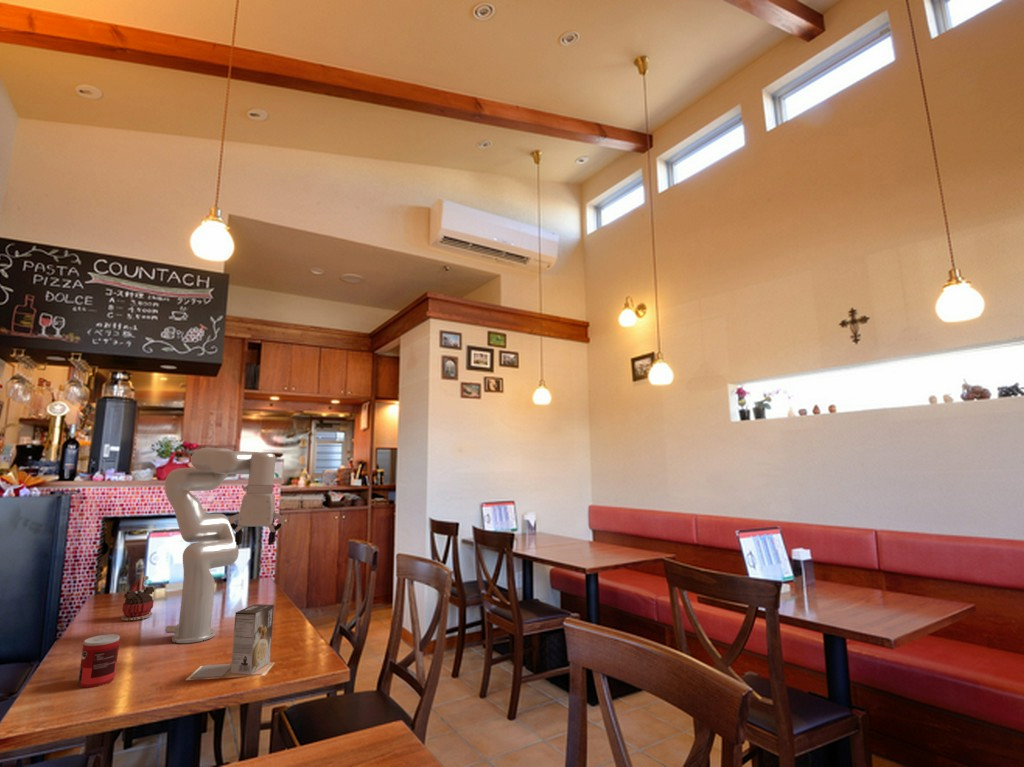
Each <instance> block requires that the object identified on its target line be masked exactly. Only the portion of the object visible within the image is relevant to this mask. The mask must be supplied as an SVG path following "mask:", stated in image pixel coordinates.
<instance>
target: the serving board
mask: <svg viewBox="0 0 1024 767" xmlns="http://www.w3.org/2000/svg"><path fill="white" fill-rule="evenodd" d="M270 662H271V661H270ZM275 663H276V662H274V661H272V662H271V664H270V665H269V666H268V667H267V669H266V670H265V671H264V673H263V674H262V675H253V676H252V677H264V676H266V675H267V674H268V673H269V671H270V670H271V668H272V667H273V666H274V664H275ZM203 666H204V665H200V666H199V667H198V668H196V670H194V671H193V672H192V673H191V674H190V675H189V676H188V677H187V678H185V681H193V680H209V679H213V680H214V679H230V678H247V677H248V678H249V677H250V678H251V676H234V677H230V675H231V674H232V673H231V669H230V670H229V671H228V672H227V673H226V674H225V675H224V676H223V677H216V678H198V679H190V678H191V677H192V676H193V675H194V674H195V673H196V672H197V671H198V670H199V669H200V668H202V667H203Z"/></svg>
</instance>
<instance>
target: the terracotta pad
mask: <svg viewBox="0 0 1024 767" xmlns="http://www.w3.org/2000/svg"><path fill="white" fill-rule="evenodd" d="M270 664H271V661H270V663H268V664H267V665H265V666H263V667H262V668H260V669H259V670H257V671H256V672H254V673H253V674H231V675H230V677H232V678H235V677H234V676H250V677H254V676H253V675H262V674H263V673H264V671H265V670H266V669H267V667H268V666H269V665H270Z"/></svg>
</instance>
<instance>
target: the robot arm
mask: <svg viewBox="0 0 1024 767" xmlns="http://www.w3.org/2000/svg"><path fill="white" fill-rule="evenodd" d="M276 457H277V456H276V455H275V453H273V452H260V451H246V450H245V451H243V450H242V451H241V450H238V451H237V450H232V449H230V448H224V447H223V448H221V447H202V448H199V449H197V450H195V451H194V452H193V453H192V454H191V457H190V463H191V465H192V467H181V468H175V469H173V470H171V471H170V472H169V473H168V474H167V476H166V477H165V482H164V491H165V492H164V493H165V495H166V498H167V500H168V502H169V503H170V505H171V507H172V509H173V511H174V514H175V518H176V522H177V525H178V529H179V532H180V536H181V537H182V538H181V539H183V541H184V542H186V543H190V544H189V545H187V546H186V547H185V549H184V550H183V551H182V552H183V553H182V566H183V581H182V582H183V583H182V592H181V601H180V612H179V620H178V624H177V625H166V627H165V630H164V632H165V634H171V633H173V635H172V637H171V641H172V642H173V643H175V642H176V643H175V644H192V643H193V644H194V643H198V642H204V641H206V640H210V639H212V638H213V637H214V636H216V630H214V629H212V619H213V618H212V616H213V607H214V598H215V585H216V581H215V578H214V576H213V574H212V573H211V571H210V570H211V569H214V568H221V567H227V566H231V565H233V564H234V563H235V562H236V561H237V560H238V557H239V546H240V545H241V544H242V543H243V535H244V531H243V529H244V528H245V527H248V528H249V527H251V528H252V527H253V528H254V527H255V528H256V527H264V528H265V527H267V528H268V530H270V531H269V533H268V542H267V545H268V546H272V545H273V544H274V543H275V542H276V536H277V535H276V533H277V531H278V530H279V529H280V528H281V527H283V524H285V522H286V520H287V518H286V517H284V516H283V515H281V514H279V513H277V512H276V497H275V494H273V490H274V479H275V469H276V468H275V467H276ZM229 475H248V478H247V479H248V481H247V485H246V486H243V487H242V491H243V492H246V494H243V498H242V501H241V505H240V509H239V512H238V513H236V514H234V515H232V516H229V517H228V516H226V514H223V513H206V512H205V510H204V508H203V505H202V504H203V503H201V501H200V500H199V498H198V497H196V495H194V494H193V493H191V492H199V491H200V492H202V491H205V492H206V491H213V490H216V489H218V488H219V486H221V484H222V483H223V482H224V481H225V480H226V478H227V477H228V476H229ZM236 519H238V522H237V523H238V524H237V523H236ZM276 519H277V520H278V523H277V524H276V525H275V520H276ZM234 532H235V533H234ZM203 640H204V641H203Z"/></svg>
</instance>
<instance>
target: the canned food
mask: <svg viewBox="0 0 1024 767" xmlns="http://www.w3.org/2000/svg"><path fill="white" fill-rule="evenodd" d="M120 639H121V638H120V635H118V634H113V633H111V634H101V635H96V636H95V635H94V636H92V637H89V638H86V639H84V641H83V645H82V652H81V660H80V668H79V675H78V685H80V686H79V687H81V686H82V687H81V688H94V687H93V686H96V687H100V686H99V685H101V686H104V685H107V684H109V683H111V682H112V681H113V680H115V676H116V670H117V662H118V661H117V660H118V657H119V656H118V655H119V654H118V653H119V647H120ZM106 683H107V684H106ZM103 684H104V685H103Z"/></svg>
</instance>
